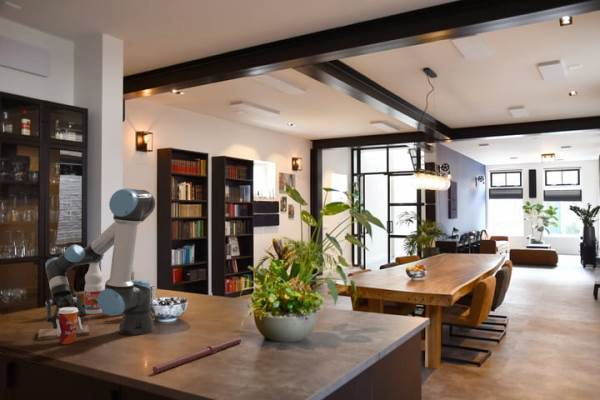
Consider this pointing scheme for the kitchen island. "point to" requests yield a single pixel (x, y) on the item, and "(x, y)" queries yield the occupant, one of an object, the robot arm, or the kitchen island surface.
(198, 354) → the brown thin rod
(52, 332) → the walnut board
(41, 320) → the kitchen island surface
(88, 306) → the fruit juice
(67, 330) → the paper cup
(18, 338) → the kitchen island surface
